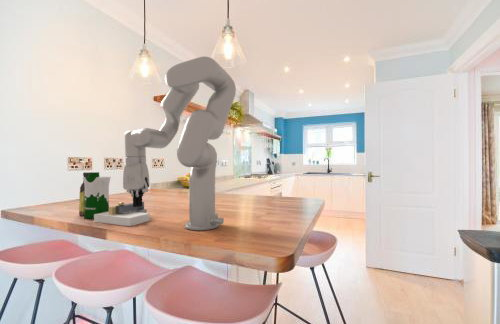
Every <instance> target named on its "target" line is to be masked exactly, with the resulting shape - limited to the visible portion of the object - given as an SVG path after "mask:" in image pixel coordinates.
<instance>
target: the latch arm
mask: <svg viewBox="0 0 500 324" xmlns="http://www.w3.org/2000/svg"><path fill="white" fill-rule="evenodd" d="M115 206H116V213H124V212H129V211H130V212H131V211H134V210H142V209H145V201H142V206H140V207H133V202H131V203H126V204H125V202H124V201H121V202H118V205H115Z"/></svg>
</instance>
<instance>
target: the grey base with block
mask: <svg viewBox="0 0 500 324" xmlns="http://www.w3.org/2000/svg"><path fill="white" fill-rule="evenodd" d="M116 206H117V205H114V206H109V212H104V213H99V214H94V218H93V222H94V223H101V224H110V225H115V226H116V225H118V226H125V227H126V226H127V227H131V226H136V225H139V224H143V223H146V222H150V221H151V220H150V219H151V215H150V213H148V212H147V213H141V212H131V211H129V212H124V213H116Z"/></svg>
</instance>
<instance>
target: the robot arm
mask: <svg viewBox="0 0 500 324" xmlns="http://www.w3.org/2000/svg"><path fill="white" fill-rule="evenodd" d="M164 81H165V83H166V85H167V86H168V87H169V88H170V89H169V90H168V92H167V94H166V95H165V96H164V98H163V99H162V100H161V102H160V106H161V109H163V111H164V113H165V120H164V123H163V124H162V125H161V127H160V128H159V129H154V128H148V127H144V128H141V129H140V128H139V129H137V130H127V131H125V132H124V149H125V151H124V152H125V153H124V155H125V165H124V168H123V173H122V174H123V176H122V178H123V179H122V188H123V189H124V190H126V193H129V194H130V195H131V198H132V203H133V207H140V206H142V202H143V197H144V194H145V193H147V192H149V187H150V173H149V168H148V164H147V157H146V156H147V151H146V150H147V149H146V148H150V149H164V148H166V147H168V146H169V144H171V142H172V141H173V139H174V138H175V137H176V136H177V133H178V131H179V127H180V123H181V116H182V114H183V113H184V111H185V110H186V108H187V107H188V106H189V104H190V103H191V101H192V100H193V98H194V97H195V96H196V94H197V93H198V91H199V89H200V84H201V83H203V84H204V85H206V87H208V88H210V89H211V90H212V91H213V93H212V94H211V96H210V97H209V99H208V101H207V104H206V106H205V109H203V108H202V109H201V108H200V109H196V110H195V111H193V112H192V113H191V114H190V115H189V116H188V118H187V119H186V122H185V124H184V127H183V130H182V133H181V136H180V139H179V142H178V145H177V149H176V156H177V161H178V162H179V163H180V164H181V165H182V166H184V167H186V168H190V172H189V181H188V182H189V184H188V189H189V191H188V192H189V194H188V195H189V196H188V197H189V198H188V201H189V204H188V205H189V207H188V208H189V210H188V211H189V213H188V215H189V217H188V218H189V221H187V222H185V224H184V227H185V228H186V229H187V230H190V231H191V230H192V231H208V230H212V229H217V228H218V227H220V225H223V224H224V222H225V221H224V220H225V219H224V217H219V213H216V171H217V162H218V154H217V151H216V148H215V147H214V146H213V145H212V144H211V143H209V141H211V140H213V141H214V140H217V139H219V138H220V137H221V136H222V134H223V132H224V129H225V126H226V123H227V120H228V117H229V114H230V112H231V108H232V105H233V102H234V100H235V97H236V92H237V87H236V82H235V81H234V80H233V78H232V76H231V75H229V73H228V72H227V71H226V70H225V69H224V68H223V67H222V66H221V65H220V64H219V63H218V62H217V61H216V60H215V59H213V58H212V57H210V56H200V57H199V56H198V57H196V58H192V59H189V60H185V61H182V62H179V63H177V64H175V65H173V66H171V67H170V68H169V69H168V70H166V73H165V77H164Z"/></svg>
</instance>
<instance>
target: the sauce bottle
mask: <svg viewBox="0 0 500 324" xmlns="http://www.w3.org/2000/svg"><path fill="white" fill-rule="evenodd" d="M89 173H91V172H90V171H89V172H88V171H87V172H83V173H82V176H83V177H89V176H88V175H89ZM82 181H83V180H82ZM78 197H79V199H78V200H79V201H78V203H79V204H78V211H79V212H78V215H79V216H84V211H85V185H84V181H83V182H82V183H81V184H80V187H79V196H78Z"/></svg>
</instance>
